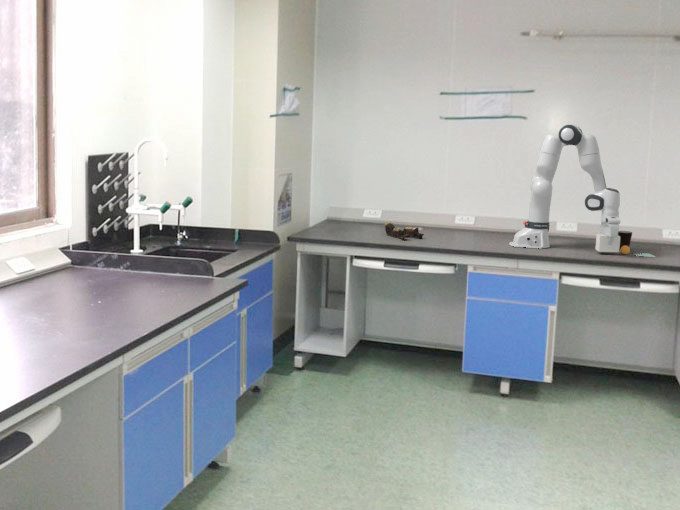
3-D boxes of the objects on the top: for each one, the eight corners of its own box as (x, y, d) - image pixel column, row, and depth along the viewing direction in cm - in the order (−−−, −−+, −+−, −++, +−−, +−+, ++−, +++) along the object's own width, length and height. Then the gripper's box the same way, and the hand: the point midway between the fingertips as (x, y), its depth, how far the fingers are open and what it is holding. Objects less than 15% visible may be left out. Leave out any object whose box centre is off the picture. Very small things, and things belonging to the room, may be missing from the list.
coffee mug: (631, 250, 445) (633, 233, 443) (615, 249, 446) (617, 232, 445) (628, 247, 456) (630, 230, 454) (613, 246, 458) (614, 229, 456)
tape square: (637, 256, 426) (637, 256, 426) (631, 253, 436) (631, 252, 436) (655, 257, 426) (655, 256, 426) (649, 253, 436) (649, 253, 436)
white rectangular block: (598, 251, 428) (600, 235, 426) (595, 249, 435) (596, 233, 433) (619, 252, 428) (620, 236, 426) (615, 250, 435) (616, 234, 433)
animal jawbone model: (403, 238, 484) (407, 222, 482) (425, 247, 463) (429, 230, 461) (379, 233, 475) (384, 217, 474) (400, 242, 454) (405, 226, 453)
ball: (621, 255, 429) (622, 246, 428) (618, 253, 434) (619, 244, 433) (631, 255, 429) (631, 246, 428) (627, 253, 434) (628, 244, 433)
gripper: (598, 215, 438) (596, 240, 441) (609, 220, 418) (607, 246, 421) (609, 216, 438) (607, 240, 441) (621, 221, 418) (619, 246, 421)
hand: (607, 243), depth 431 cm, fingers closed on white rectangular block, 7 cm apart
